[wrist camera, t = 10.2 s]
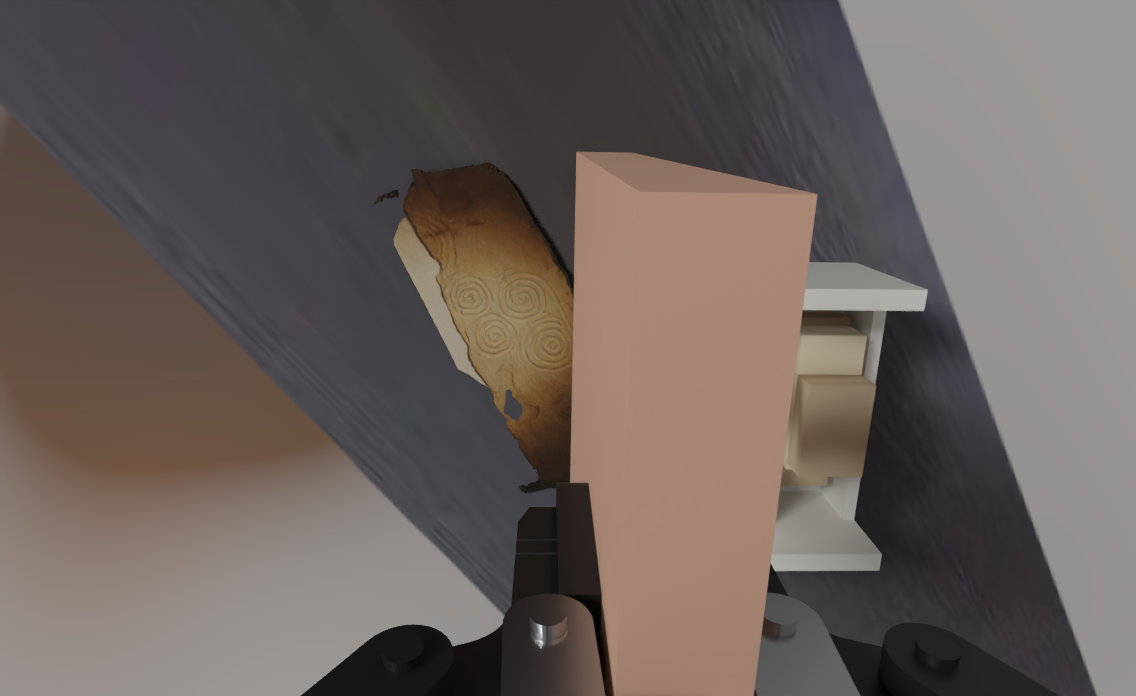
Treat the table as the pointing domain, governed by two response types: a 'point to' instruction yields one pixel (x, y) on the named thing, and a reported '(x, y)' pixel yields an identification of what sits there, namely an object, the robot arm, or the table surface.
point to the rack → (826, 513)
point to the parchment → (496, 301)
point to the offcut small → (830, 425)
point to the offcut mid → (826, 357)
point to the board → (683, 410)
